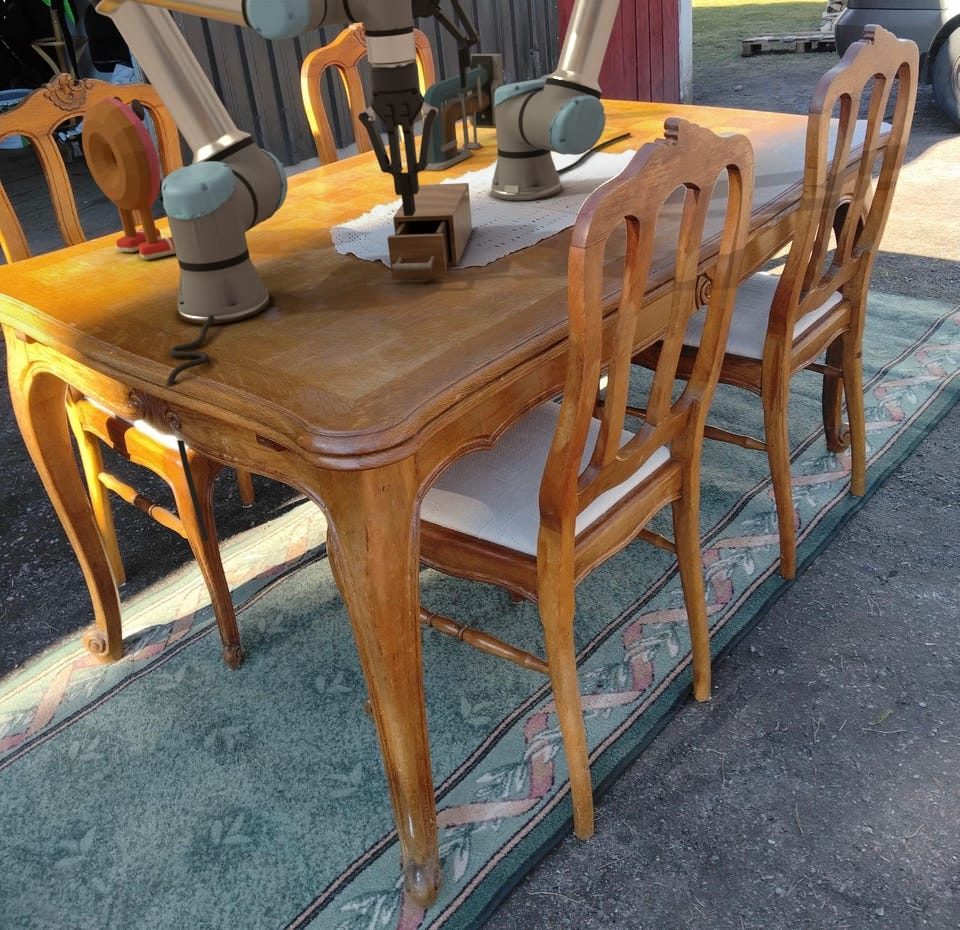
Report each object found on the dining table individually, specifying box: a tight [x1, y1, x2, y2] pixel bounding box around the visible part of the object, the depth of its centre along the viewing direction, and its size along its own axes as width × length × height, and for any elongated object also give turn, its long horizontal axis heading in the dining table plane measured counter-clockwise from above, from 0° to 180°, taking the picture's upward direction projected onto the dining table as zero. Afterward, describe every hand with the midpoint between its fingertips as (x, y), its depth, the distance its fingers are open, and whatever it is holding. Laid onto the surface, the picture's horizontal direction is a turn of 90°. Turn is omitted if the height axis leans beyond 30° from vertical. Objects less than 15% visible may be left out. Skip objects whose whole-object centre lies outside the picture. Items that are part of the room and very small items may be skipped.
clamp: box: [417, 53, 505, 171], centre depth 247 cm, size 35×9×21 cm, turn 151°
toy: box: [81, 95, 176, 260], centre depth 191 cm, size 21×10×30 cm, turn 47°
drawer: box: [386, 220, 451, 280], centre depth 174 cm, size 25×10×8 cm, turn 173°
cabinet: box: [392, 182, 473, 267], centre depth 184 cm, size 21×11×9 cm, turn 173°
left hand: (409, 213), depth 162 cm, fingers closed
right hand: (427, 89), depth 177 cm, fingers open, 13 cm apart
